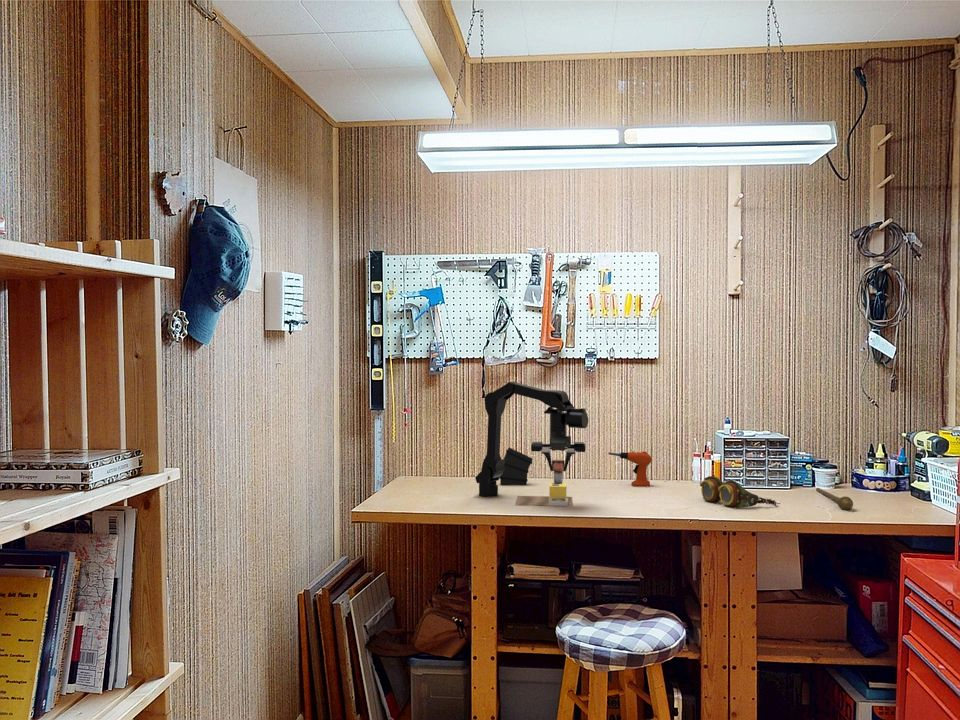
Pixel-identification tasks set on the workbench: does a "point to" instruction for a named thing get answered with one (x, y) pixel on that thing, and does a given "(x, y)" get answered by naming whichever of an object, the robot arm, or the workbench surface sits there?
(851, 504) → the ball headed mace
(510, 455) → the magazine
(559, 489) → the block
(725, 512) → the workbench surface
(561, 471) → the copper and grey cylinder
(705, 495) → the goggles
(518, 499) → the plywood board
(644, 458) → the toy drill
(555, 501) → the frame
